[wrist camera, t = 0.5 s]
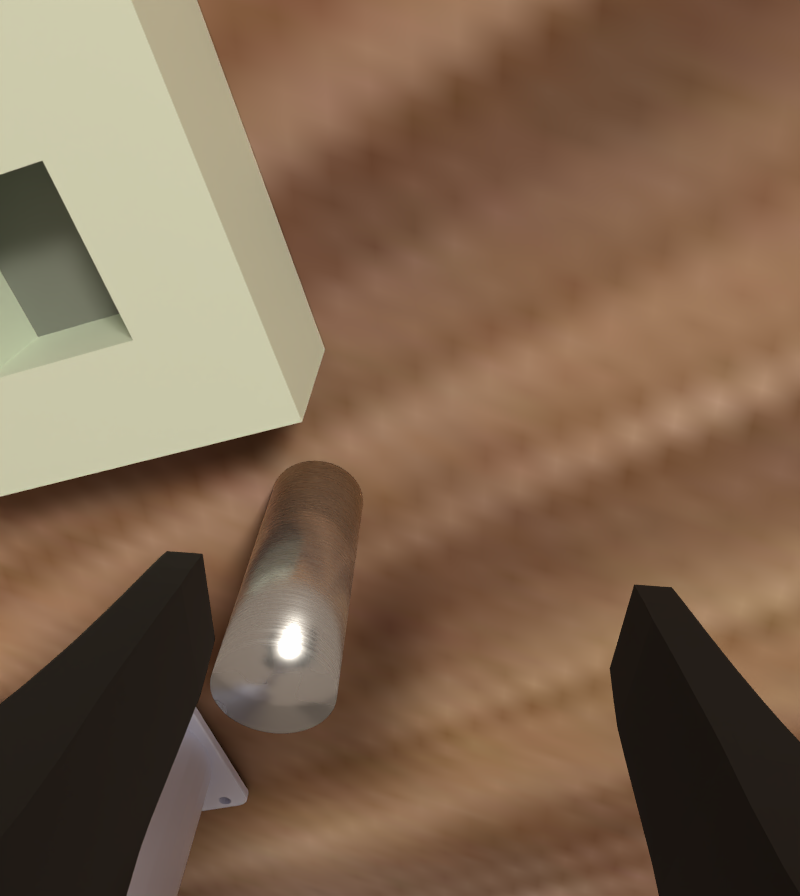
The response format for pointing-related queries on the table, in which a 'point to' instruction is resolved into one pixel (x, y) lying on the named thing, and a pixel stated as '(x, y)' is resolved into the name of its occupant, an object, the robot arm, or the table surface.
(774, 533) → the table surface
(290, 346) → the bore block
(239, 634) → the pin
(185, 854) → the robot arm
